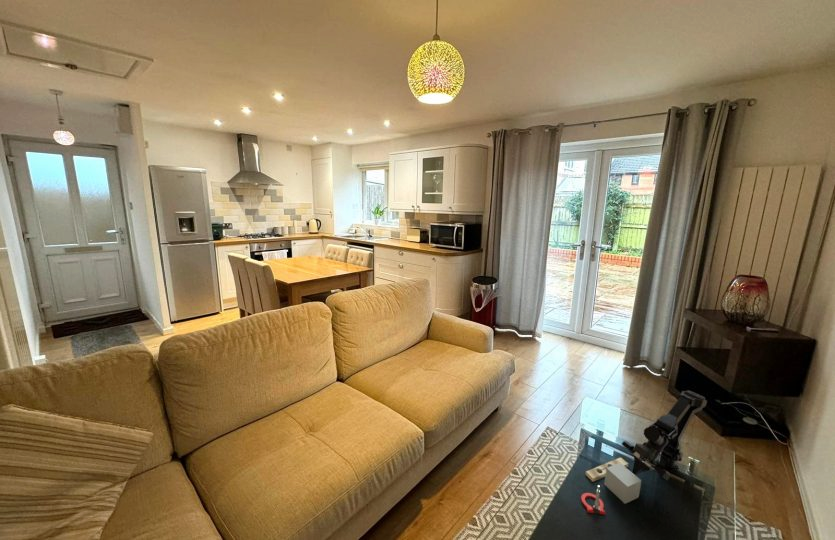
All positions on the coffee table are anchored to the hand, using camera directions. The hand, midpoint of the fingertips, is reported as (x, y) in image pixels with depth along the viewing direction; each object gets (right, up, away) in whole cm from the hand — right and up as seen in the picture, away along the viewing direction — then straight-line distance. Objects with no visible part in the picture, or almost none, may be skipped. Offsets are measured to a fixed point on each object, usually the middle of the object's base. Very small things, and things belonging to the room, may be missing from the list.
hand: (633, 474), depth 143 cm
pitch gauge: (-6, -4, +10) cm, 12 cm away
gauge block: (-6, -7, 0) cm, 9 cm away
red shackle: (-21, -9, -6) cm, 24 cm away
